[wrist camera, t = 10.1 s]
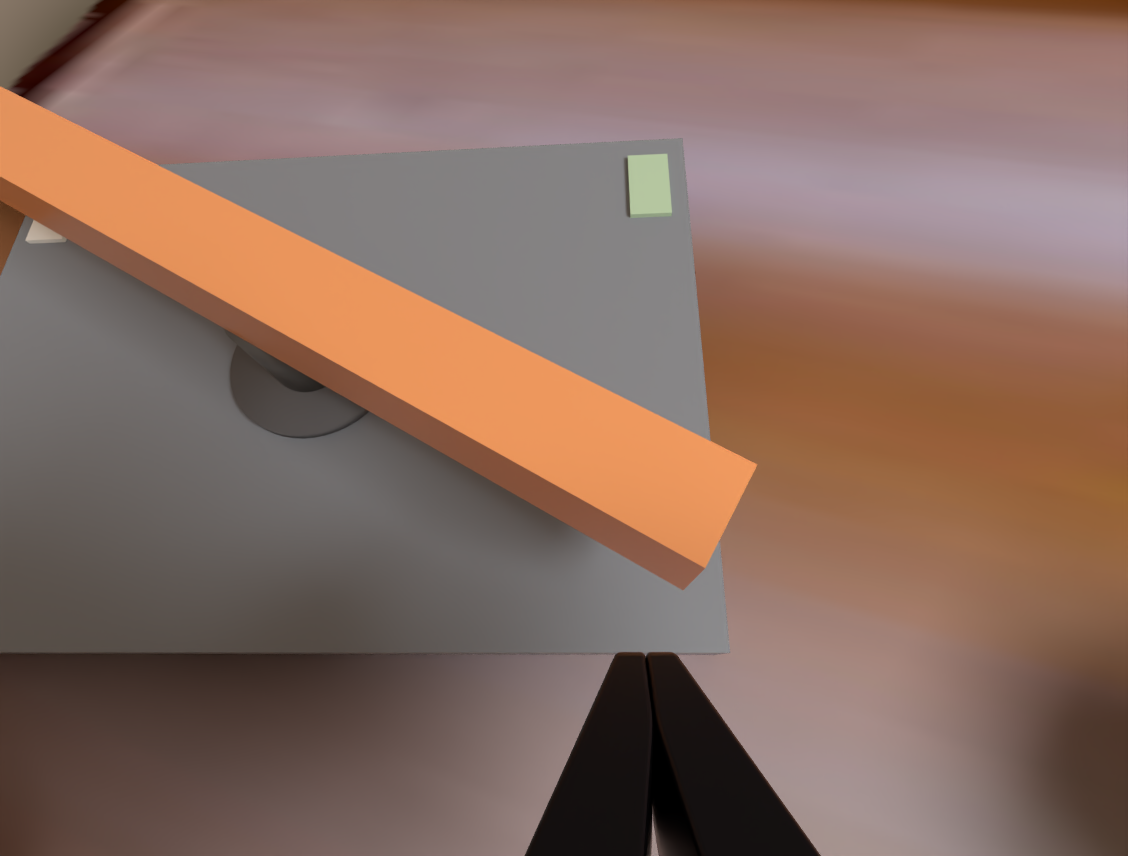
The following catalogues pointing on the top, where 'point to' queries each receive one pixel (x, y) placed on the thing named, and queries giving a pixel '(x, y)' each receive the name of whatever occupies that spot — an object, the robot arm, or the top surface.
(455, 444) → the handle
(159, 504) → the panel
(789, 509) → the top surface
